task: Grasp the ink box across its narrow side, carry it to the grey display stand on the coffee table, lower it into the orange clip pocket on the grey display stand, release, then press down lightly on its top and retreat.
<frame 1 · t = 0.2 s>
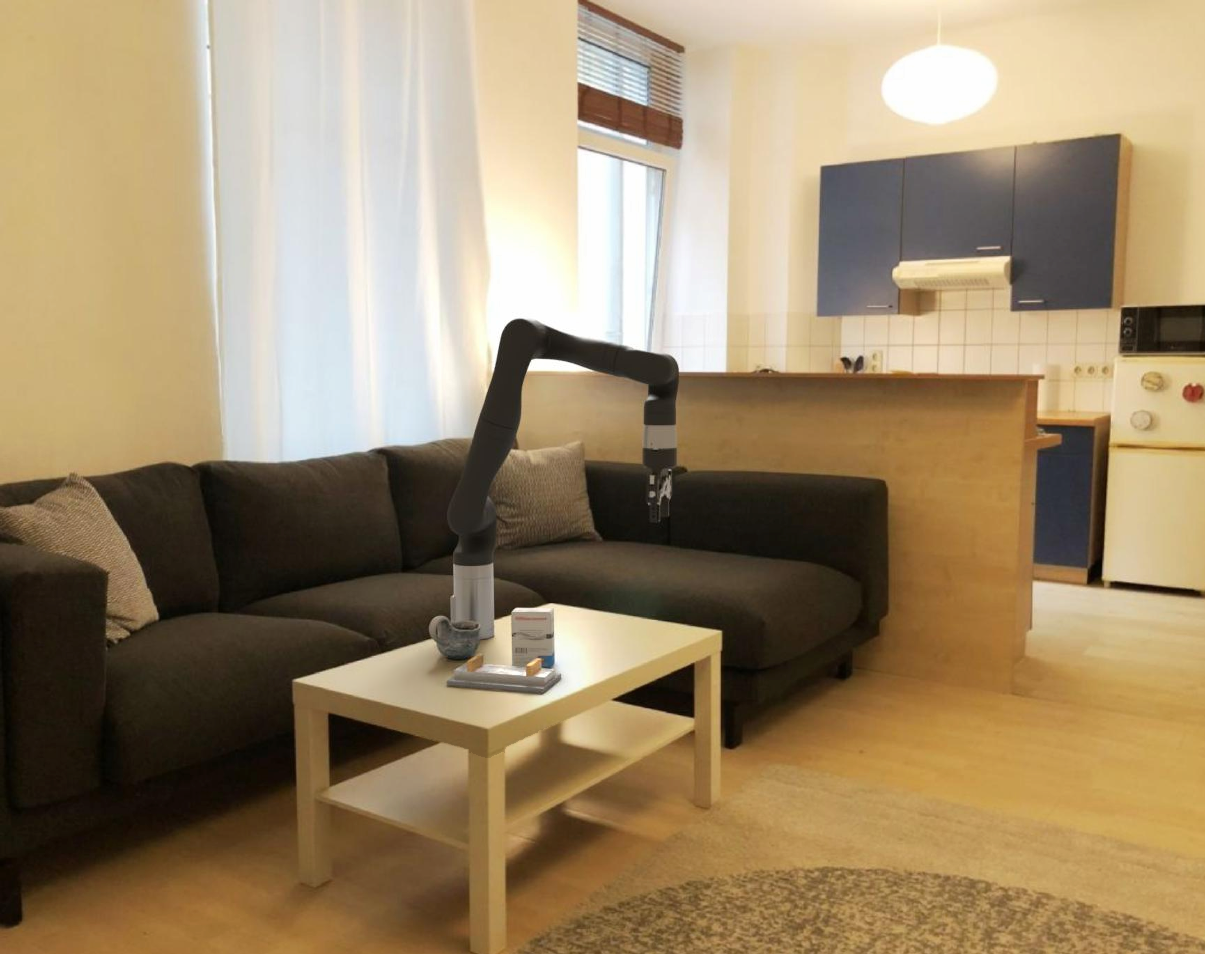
hand: (659, 519, 243), 29 cm above the table, fingers open, 8 cm apart
ink box: (533, 665, 234), on the table
mug: (454, 659, 239), on the table
grey display stand: (504, 682, 220), on the table
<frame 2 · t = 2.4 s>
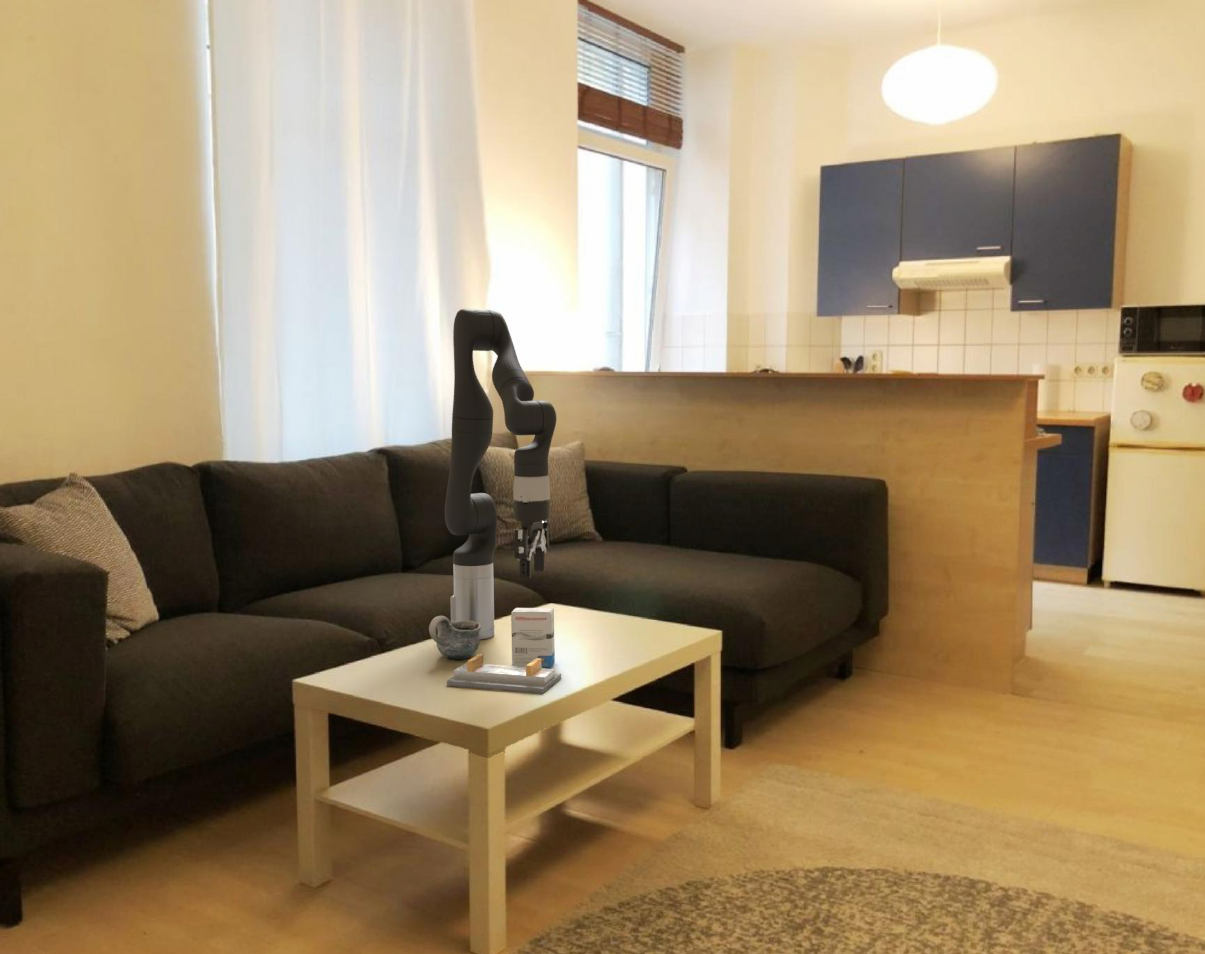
hand: (532, 574, 232), 19 cm above the table, fingers open, 8 cm apart
nothing on the table moved.
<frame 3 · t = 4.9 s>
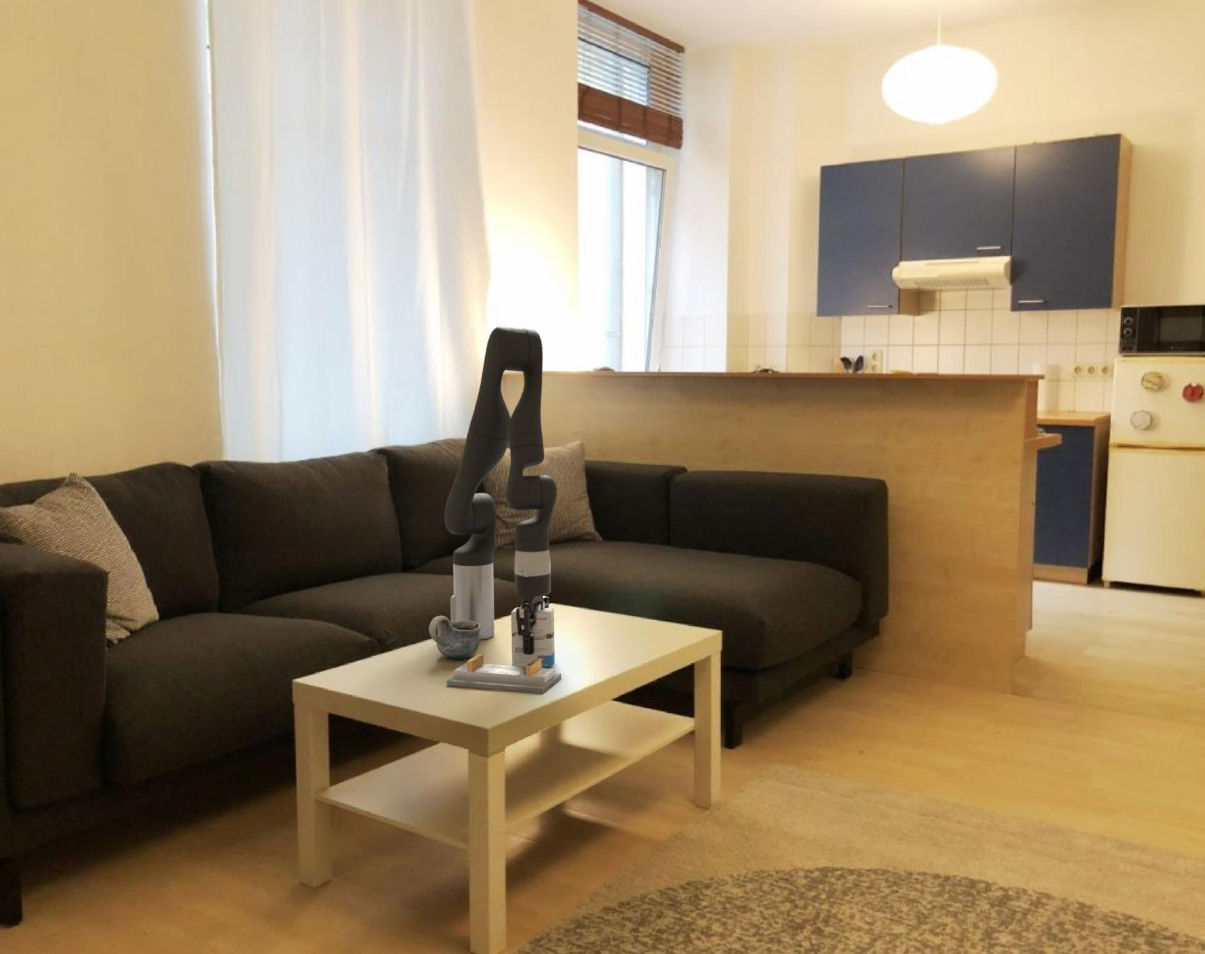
hand: (533, 650, 233), 3 cm above the table, fingers closed on ink box, 5 cm apart
ink box: (533, 665, 234), on the table, touching gripper
everything else where it was.
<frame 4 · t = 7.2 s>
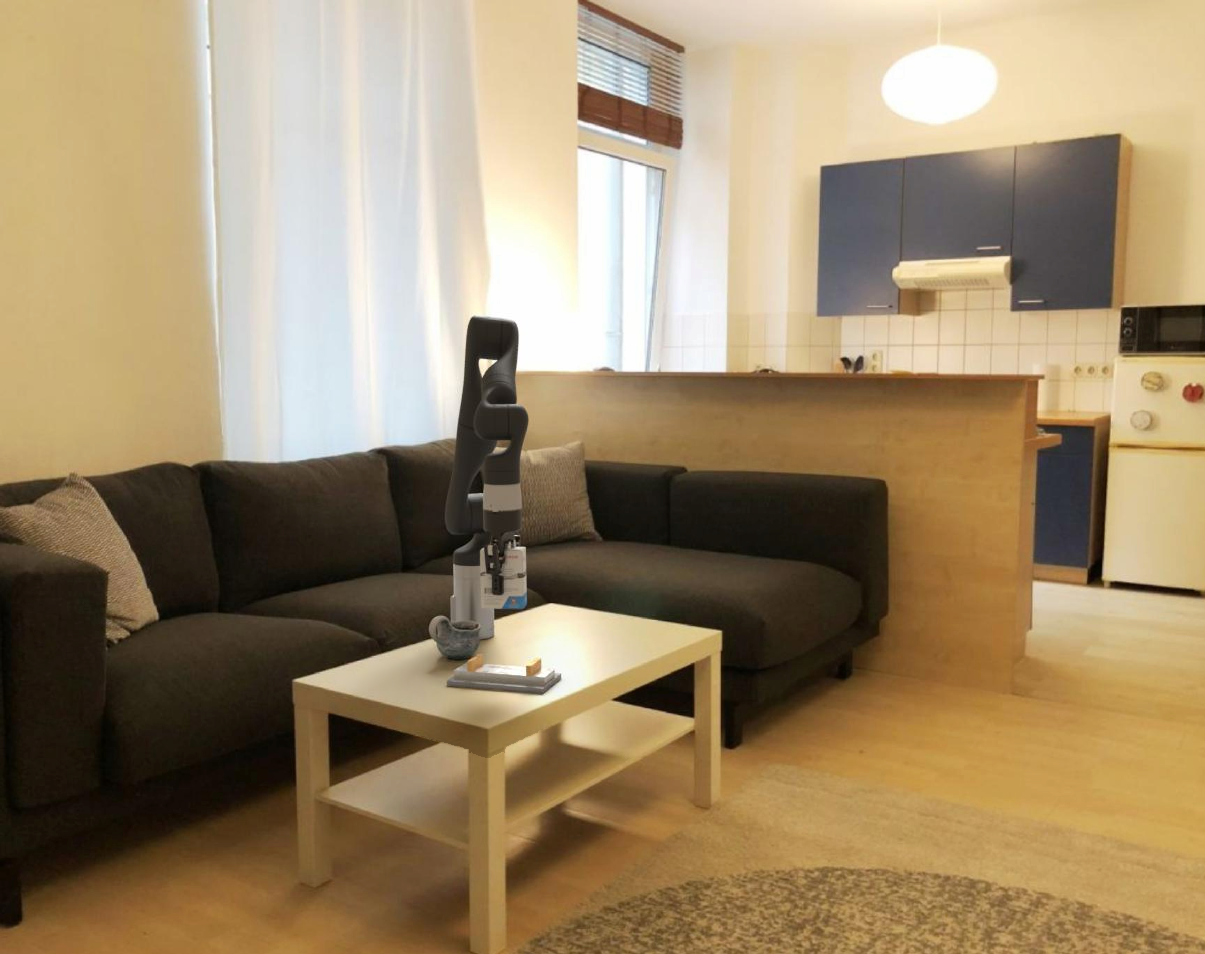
hand: (503, 591, 219), 18 cm above the table, fingers closed on ink box, 5 cm apart
ink box: (504, 607, 219), point 15 cm above the table, touching gripper
everything else where it was.
when the fingers open (7 cm above the table, at t = 9.7 s): ink box drops 1 cm, resting on grey display stand.
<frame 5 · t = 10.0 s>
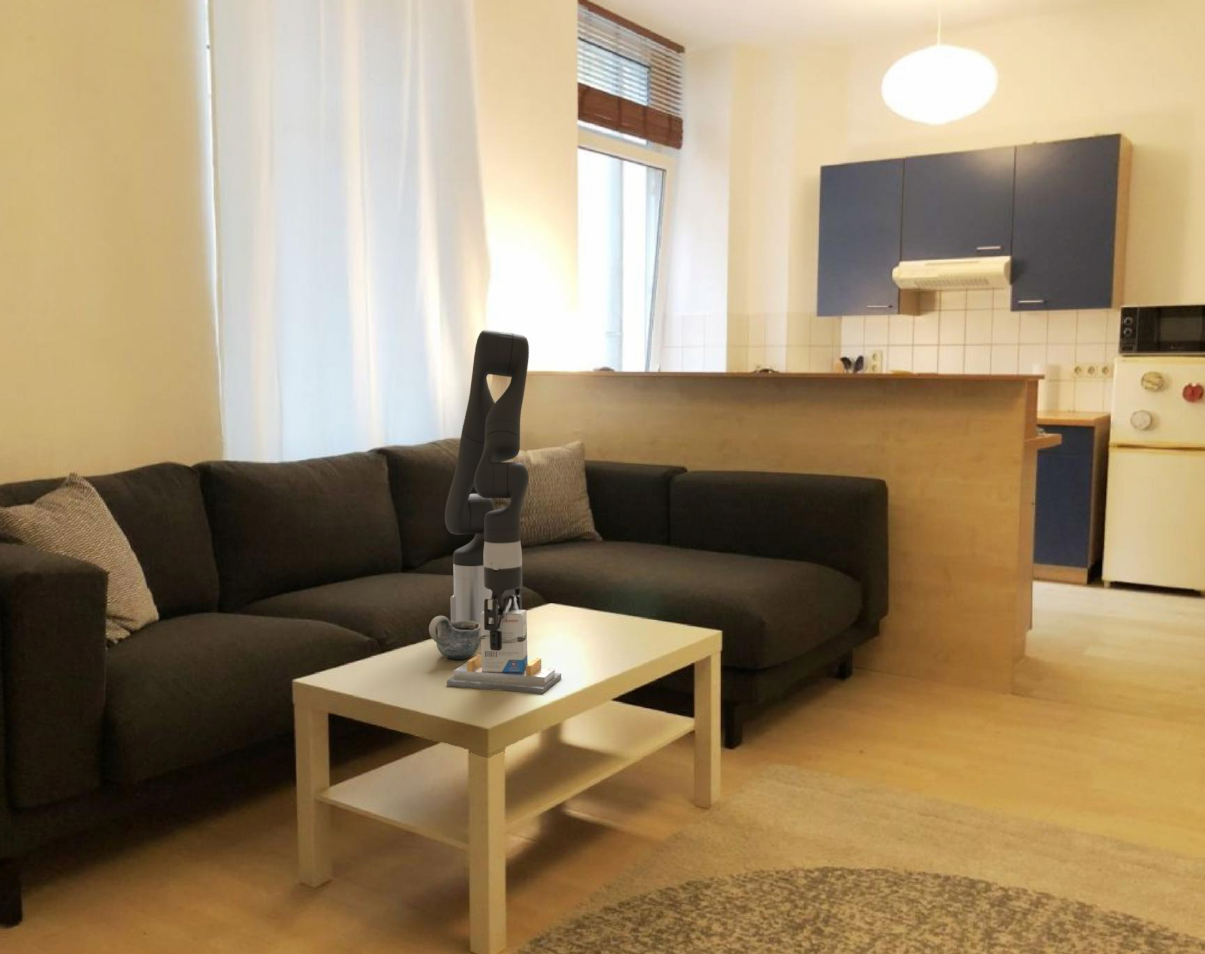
hand: (504, 644, 220), 8 cm above the table, fingers open, 8 cm apart
ink box: (504, 670, 221), point 2 cm above the table, touching grey display stand
everything else where it was.
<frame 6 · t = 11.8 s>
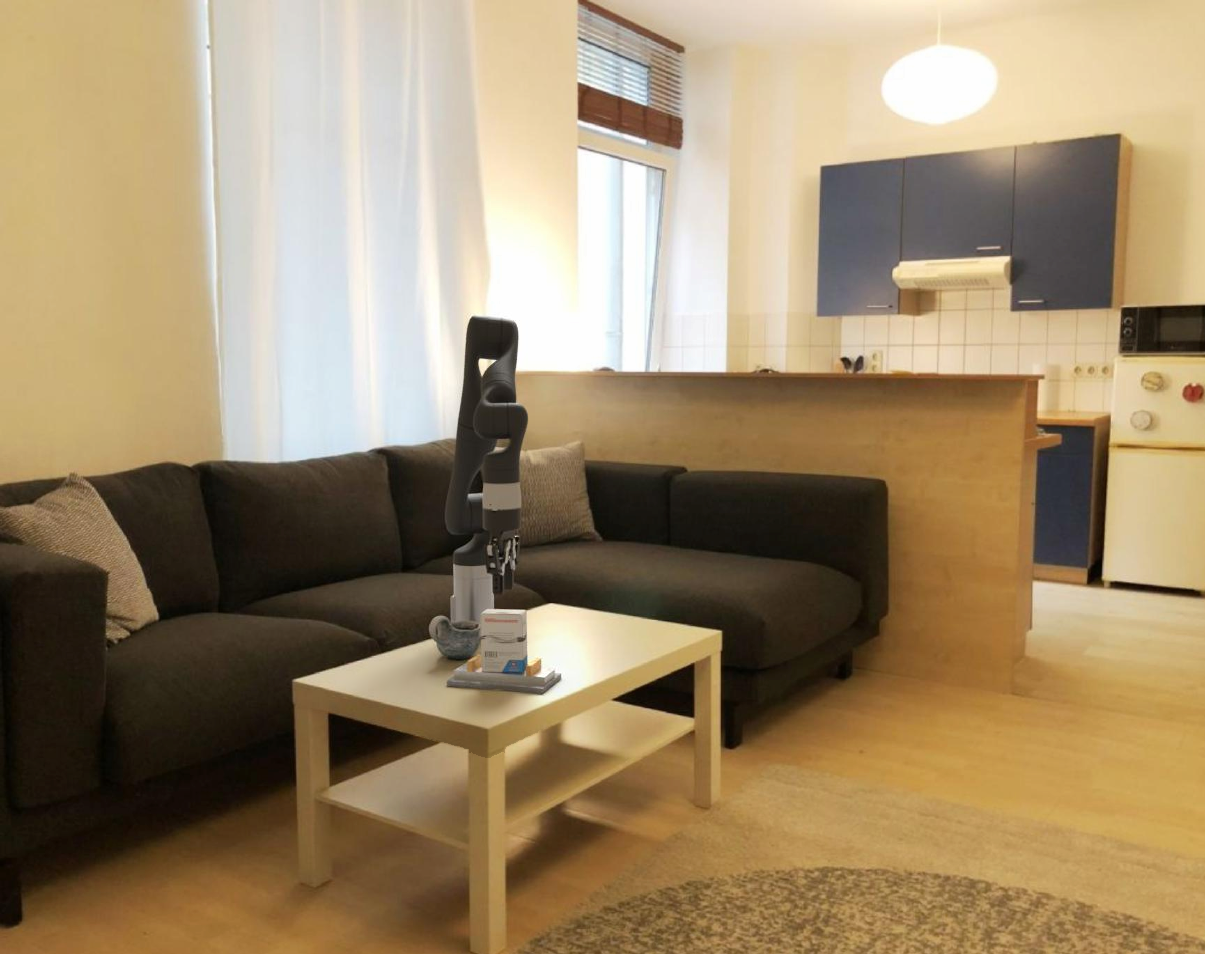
hand: (503, 591, 219), 18 cm above the table, fingers open, 4 cm apart
nothing on the table moved.
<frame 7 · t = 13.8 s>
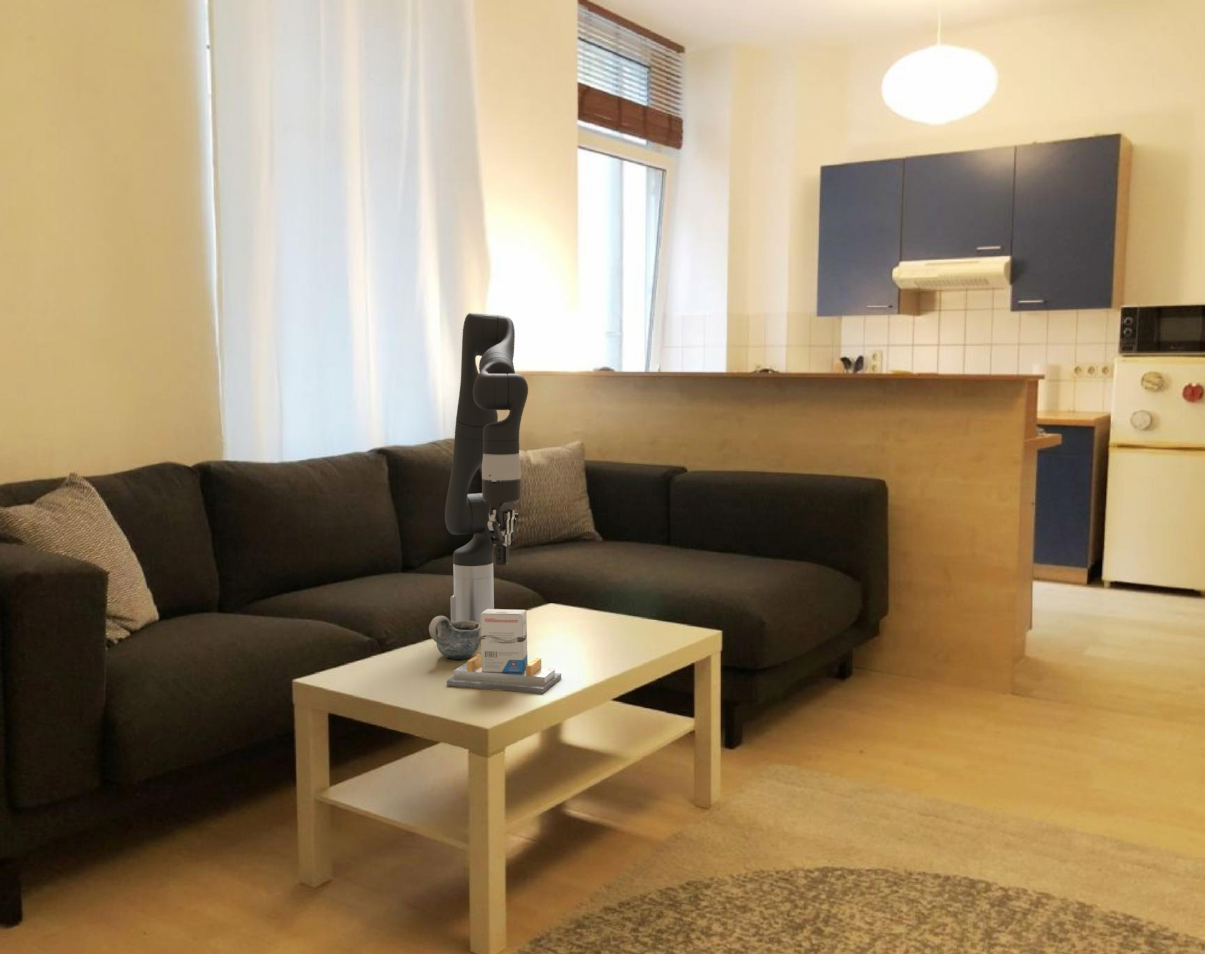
hand: (502, 564, 218), 24 cm above the table, fingers closed
nothing on the table moved.
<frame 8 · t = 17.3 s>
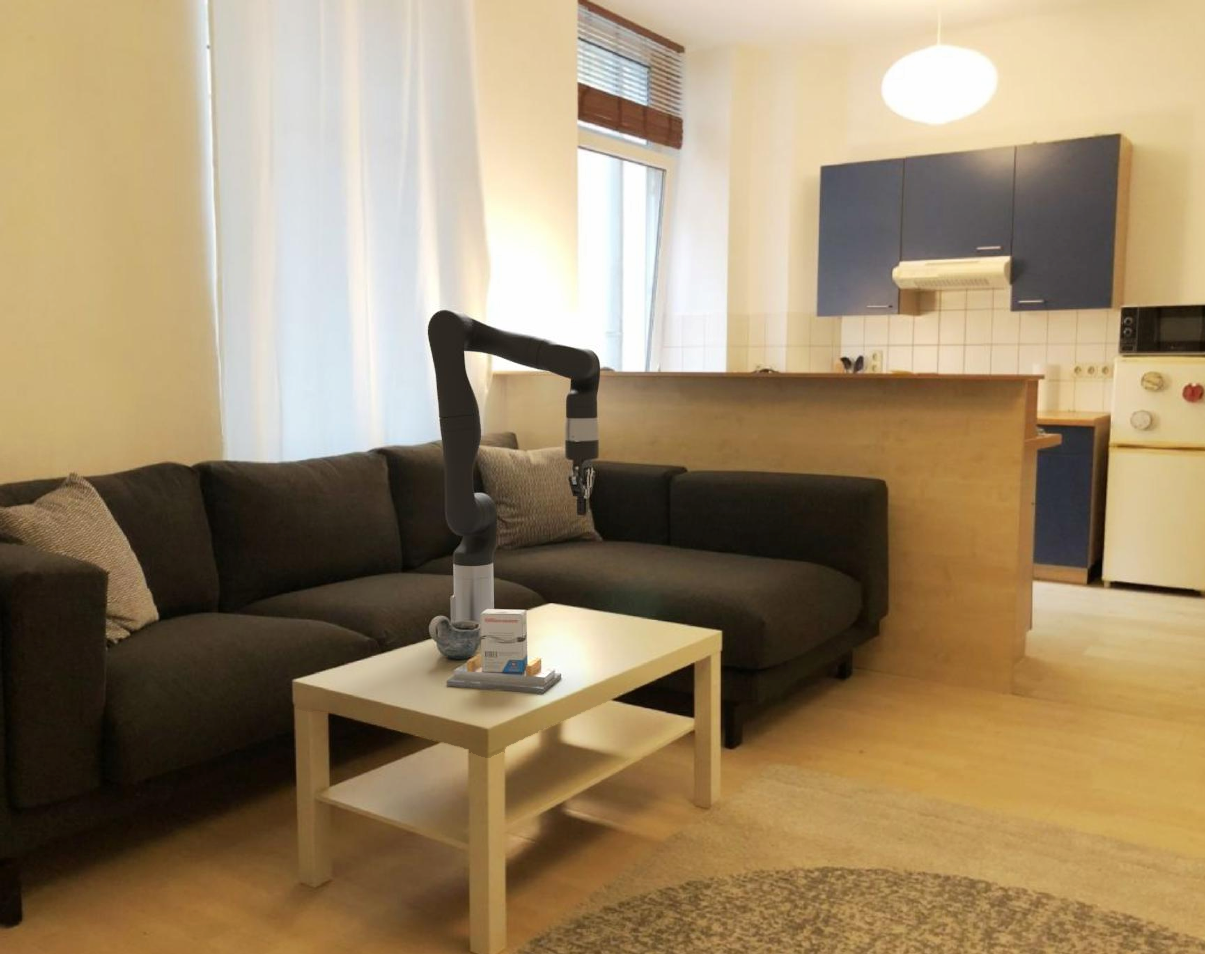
hand: (582, 514, 251), 29 cm above the table, fingers closed
nothing on the table moved.
at the end: ink box 0.3 cm off-centre on the grey display stand, point 2.3 cm above the grey display stand's base; ink box tilted 0°; the gripper is holding nothing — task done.
